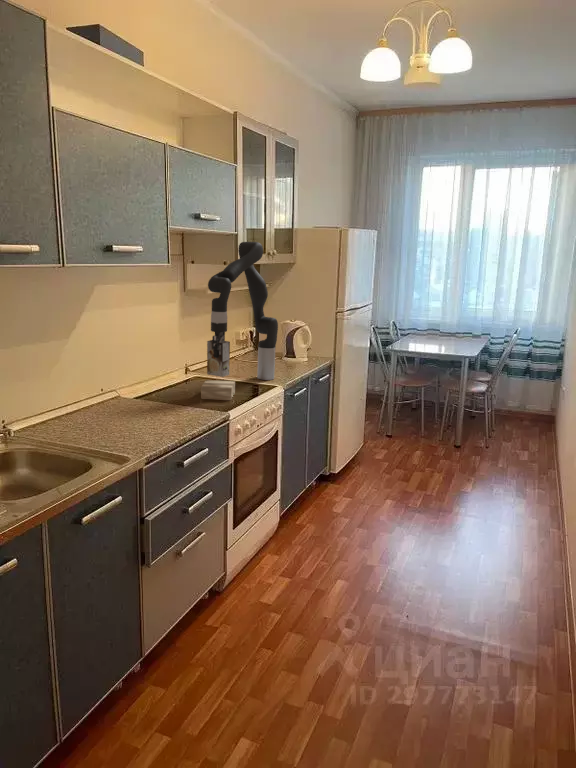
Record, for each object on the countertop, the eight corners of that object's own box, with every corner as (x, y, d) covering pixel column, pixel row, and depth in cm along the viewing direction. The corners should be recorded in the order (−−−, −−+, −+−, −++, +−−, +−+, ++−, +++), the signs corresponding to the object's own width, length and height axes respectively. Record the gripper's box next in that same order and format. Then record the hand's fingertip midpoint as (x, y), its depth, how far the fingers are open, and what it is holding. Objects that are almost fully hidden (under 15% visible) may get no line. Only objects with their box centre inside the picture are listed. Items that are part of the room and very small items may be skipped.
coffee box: (230, 374, 268) (230, 341, 264) (222, 377, 262) (223, 343, 258) (214, 372, 272) (214, 339, 268) (206, 374, 266) (206, 340, 262)
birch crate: (206, 391, 276) (206, 379, 274) (234, 393, 275) (235, 381, 274) (201, 399, 262) (201, 386, 261) (231, 400, 262) (231, 388, 260)
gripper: (215, 318, 268) (214, 352, 272) (207, 322, 254) (206, 358, 258) (230, 319, 267) (229, 353, 271) (223, 323, 253) (222, 359, 257)
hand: (218, 355), depth 265 cm, fingers closed on coffee box, 7 cm apart
